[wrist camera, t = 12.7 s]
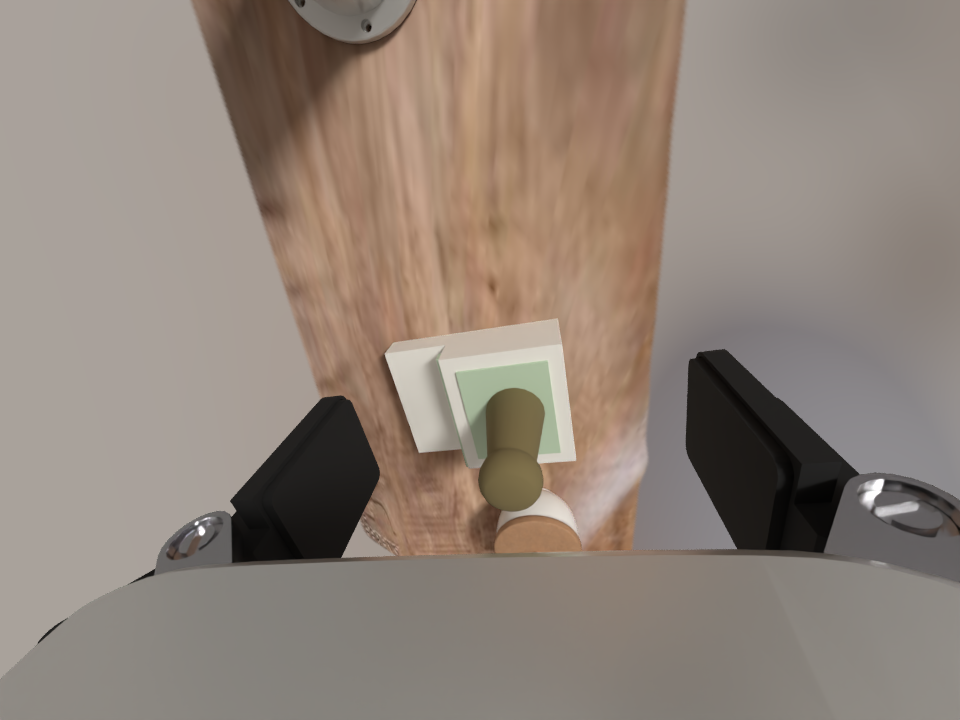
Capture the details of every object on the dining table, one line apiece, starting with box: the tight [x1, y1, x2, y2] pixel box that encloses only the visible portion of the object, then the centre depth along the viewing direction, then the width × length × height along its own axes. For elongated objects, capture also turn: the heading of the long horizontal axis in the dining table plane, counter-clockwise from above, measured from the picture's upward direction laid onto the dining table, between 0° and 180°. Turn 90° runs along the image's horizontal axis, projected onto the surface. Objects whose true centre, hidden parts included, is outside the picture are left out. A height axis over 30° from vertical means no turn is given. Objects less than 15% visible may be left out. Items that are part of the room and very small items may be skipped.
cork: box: [478, 388, 545, 512], centre depth 34 cm, size 6×6×11 cm
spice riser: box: [385, 318, 576, 468], centre depth 43 cm, size 14×19×7 cm
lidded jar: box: [494, 488, 582, 553], centre depth 49 cm, size 11×11×9 cm
